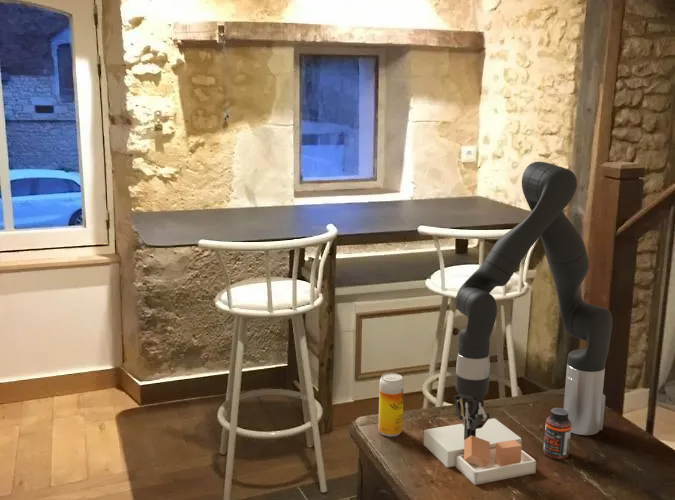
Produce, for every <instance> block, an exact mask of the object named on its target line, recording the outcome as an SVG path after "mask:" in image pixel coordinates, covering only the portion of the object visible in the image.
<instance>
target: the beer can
mask: <svg viewBox="0 0 675 500" xmlns="http://www.w3.org/2000/svg"><path fill="white" fill-rule="evenodd" d="M404 385H405V380H404V379H403V376H402V375H401V374H398V373H394V372H391V373H390V372H389V373H384V374H382V375H381V377H380V379H379V388H378V389H379V391H378V395H379V396H378V398H379V399H378V426H377V427H378V428H377V429H378V431H379V432H380V434H381V435H382V436H385V437H390V438H391V437H392V438H393V437H397V436H399V435H400V434H401V433H402V432H403V418H404V415H403V414H404Z"/></svg>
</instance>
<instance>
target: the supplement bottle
mask: <svg viewBox="0 0 675 500" xmlns="http://www.w3.org/2000/svg"><path fill="white" fill-rule="evenodd" d="M544 427H545V428H544V440H543V453H544V454H545V456H547V457H548V458H550V459H554V460H564V459H567V458H568V457H569V455H570V454H569V453H570V445H571V444H570V442H571V436H572V435H571V421H570V420H569V419H568V411H567V410H565V409H564V408H561V407H554V408H552V409H550V415H549V416H548V417H546V421H545V426H544Z"/></svg>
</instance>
